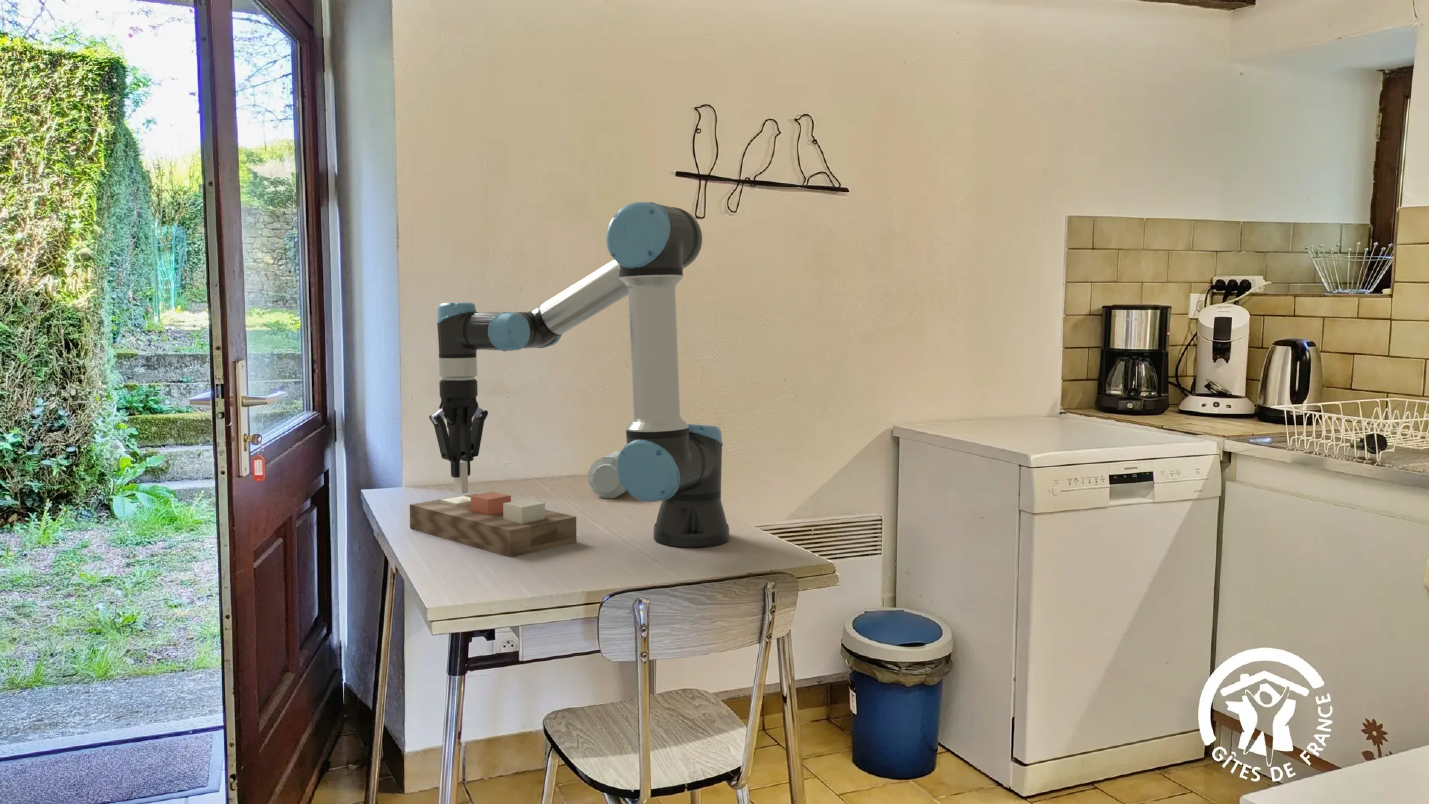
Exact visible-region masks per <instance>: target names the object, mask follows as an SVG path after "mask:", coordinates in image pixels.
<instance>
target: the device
mask: <svg viewBox="0 0 1429 804" xmlns="http://www.w3.org/2000/svg"><path fill="white" fill-rule="evenodd" d="M621 451H622V450H618V449H617V450H614V451H612V452H610V453H608V454H606V455H604V456H602V457H601V458H598V459H597V460H595V461H593V462H592V464H591V466H590V468H589V470H588V480H587V481H588V484H589V486H590V488H591V489H592V492H593V493H595V494H596V495H598V496H599V497H601V498H603V499H615V498H617V497H619V496H620V495H622V494H623V495H624V493H626V492H628V491H627V490H625V489H624V487H623V486H622V484H621V482H620V480H619V478H618V474H617V468H616V465H617V458H618V455H619V453H620V452H621Z"/></svg>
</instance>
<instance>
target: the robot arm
mask: <svg viewBox="0 0 1429 804" xmlns="http://www.w3.org/2000/svg"><path fill="white" fill-rule="evenodd" d="M607 226H608V227H607V230H606V236H605V239H606V240H605V241H606V247H607V250H608V253H609V255H610V256H611V257H612V258H613V259H612V260H610V261H608V262H606V263H605V264H603V265H602V266H600V267H599V268H597V269H595V270H594V271H592V272H591V273H589V274H588V275H586V276H585V277H583V278H581V279H579V280H578V281H577V282H575V283H573V284H572V285H569V287H567V288H565V289H564V290H562V291H560V292H559V293H557V294H555V295H554V296H552V297H551V298H549V299H547V300H546V301H544V302H543V303H541V304H540V305H538V306H537V307H534V308H533V309H531V310H530V311H519V312H518V311H517V312H516V311H514V312H513V311H502V312H499V311H498V312H497V311H496V312H495V311H493V312H479V311H478V312H477V309H476V305H475V304H474V303H473V302H442V303H440V304H439V305H438V307H437V321H436V326H437V339H438V371H439V372H438V373H439V374H438V375H439V377H440V378H442V379H440V380H439V384H438V385H439V397H440V404H439V407H438V408H439V409H438V410H437V411H436V412H435V413H434V414H433V413H430V414H429V417H428V418H429V420H430V422H431V423H432V425H433V427H434V430H435V436H436V440H437V444H438V447H439V452H440V456H441V459H443V460H447V461H449V462H450V476H451V478H453V486H454V487H453V490H454V491H453V492H454V493H456V494H460V495H462V494H464V495H465V494H468V493H469V478H468V477H469V476H471V462H473V461H474V460H475V458H474V457H478V456H479V453H480V449H481V443H482V436H483V431H484V425H485V420H486V419H487V417H488V414H489V411H488V410H486V409H482V408H481V407H479V403H478V401H477V396H478V395H479V394H478V380H477V379H476V378H475V377H477V376H478V360H477V359H478V357H477V354H478V353H477V352H478V351H479V350H481V351H482V350H483V351H484V350H485V351H502V352H512V351H520V350H522V349H544V348H547V347H552V346H554V345H555V344H557V343H558V342H560V339H561V337H562V336H563V334H565V333H566V332H568V331H570V330H572V329H573V328H575V327H577V326H578V325H580V324H581V323H584V322H585V321H587V320H589V319H590V318H591V317H593V316H596V315H597V314H598V313H600V312H602V311H603V310H605V309H607V308H609V307H610V306H612V305H614V304H615V303H617V302H618V301H621V300H622V299H623V298H626V297H627V296H628V313H629V315H628V317H629V332H630V333H629V334H630V358H631V359H630V360H631V384H632V409H633V419H632V420H631V421H630V422H629V424H628V425H627V426H626V428H625V432H626V435H625V436H626V437H625V439H626V444H625V445H624V446H623V448H622V449H621V450H620V451H621V452H620V453H619V455H618V458H617V465H616V468H617V474H618V478H619V480H620V482H621V484H622V486H623V487H624V489H625V490H627V491H626V492H627V493H628V494H629V495H630V496H632V497H633V498H635V499H636V500H638V501H641V502H646V503H655V502H661V504H660V507H659V510H658V513H657V517H656V522H655V523H654V525H653V540H654V541H655V542H657V543H659V544H663V545H666V546H672V547H683V548H701V547H703V548H704V547H713V546H718V545H721V544H725V543H727V542H728V541H730V527H729V524H728V522H727V519H726V514H725V510H724V506H723V504H722V464H723V461H722V459H723V458H722V457H723V456H722V455H723V445H724V443H723V442H722V441H723V440H722V439H723V438H722V431H721V428H720V427H718V426H716V425H709V424H708V425H707V424H690V423H687V422H686V421H685V420H684V419H682V417H681V408H680V407H681V404H680V383H679V380H680V378H679V355H678V354H679V353H678V351H679V350H678V333H677V332H678V329H677V325H678V324H677V303H676V301H677V300H676V286H677V285H678V284H679V283H680V282H681V280H682V279H683V278H684V273H683V272H684V269H685V268H687V267H688V266H690V265H691V264H692V263H693V262H694V261H696V259H697V257H698V255H699V254H700V252H701V249H702V245H703V232H702V229H701V227H700V224H699V223H698V221H697V219H696V218H695V217H694V216H693V215H692V214H691V213H690V212H689V211H687V210H685V209H682V208H681V207H680V208H679V207H674V206H673V207H672V206H667V205H663V204H659V203H656V202H652V201H651V202H650V201H649V202H647V201H638V202H632V203H629V204H627V205H624V206H623V207H621V208H620V209H618V211H617V212H616V213H615V215H614V216H612V218H611V220H610V221H609V224H608V225H607ZM445 420H446V422H445Z"/></svg>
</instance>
